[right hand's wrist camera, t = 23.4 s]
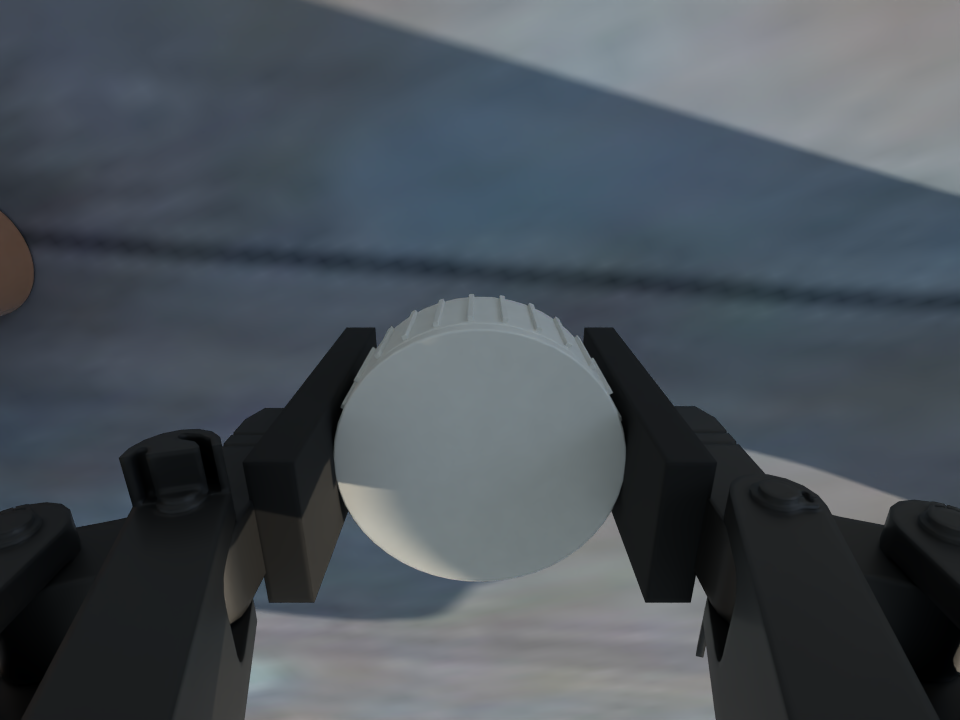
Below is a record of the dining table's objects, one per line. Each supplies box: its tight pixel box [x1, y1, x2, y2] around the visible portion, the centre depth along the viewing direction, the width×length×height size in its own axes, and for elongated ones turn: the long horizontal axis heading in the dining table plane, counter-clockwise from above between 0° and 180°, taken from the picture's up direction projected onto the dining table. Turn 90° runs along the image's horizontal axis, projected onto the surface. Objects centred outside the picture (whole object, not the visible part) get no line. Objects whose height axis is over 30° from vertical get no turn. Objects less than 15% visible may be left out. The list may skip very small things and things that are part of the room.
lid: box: [333, 294, 626, 582], centre depth 11 cm, size 6×6×2 cm
